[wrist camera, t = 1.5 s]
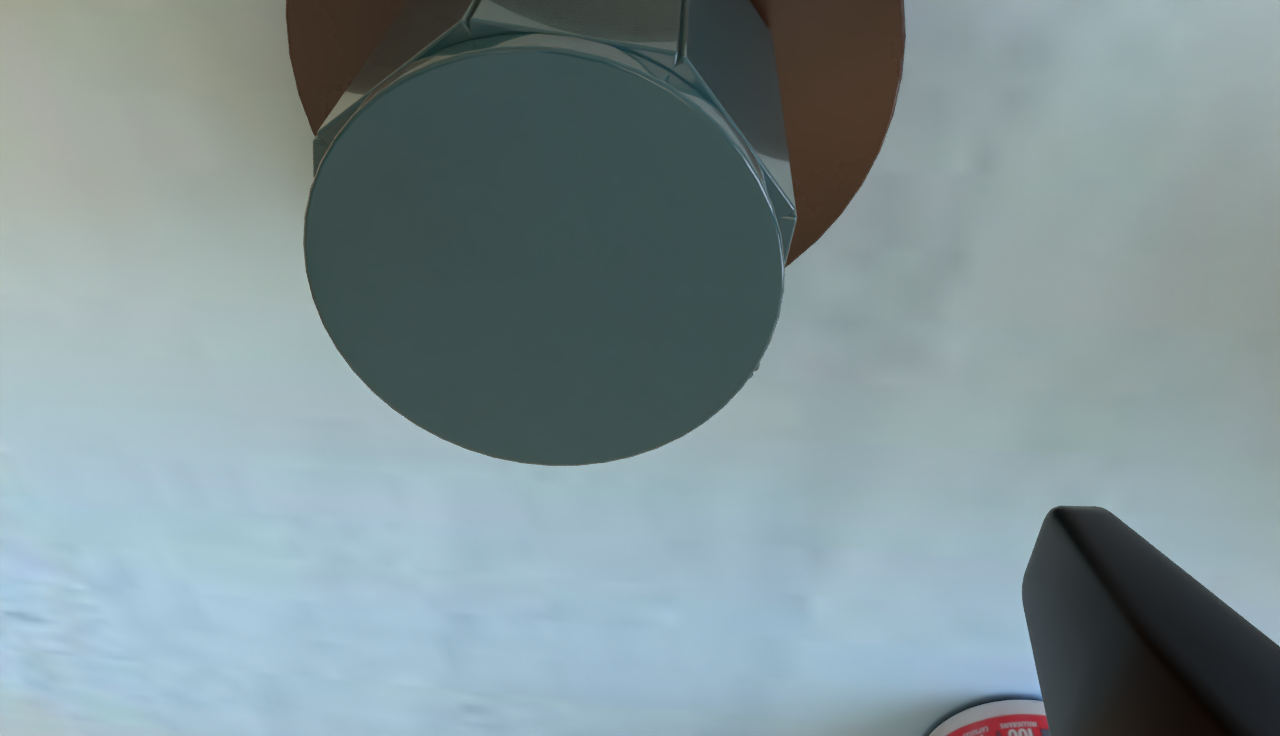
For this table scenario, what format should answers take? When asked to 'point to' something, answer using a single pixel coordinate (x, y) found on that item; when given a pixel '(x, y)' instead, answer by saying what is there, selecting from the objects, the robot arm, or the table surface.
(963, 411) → the table surface
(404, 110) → the cup
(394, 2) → the holder
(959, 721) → the pill bottle
